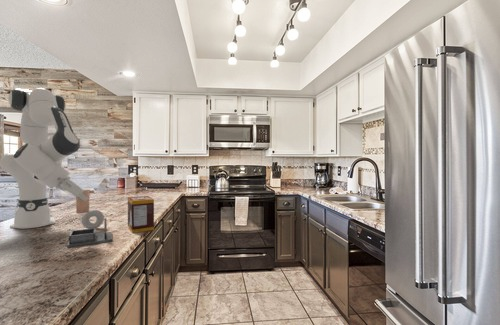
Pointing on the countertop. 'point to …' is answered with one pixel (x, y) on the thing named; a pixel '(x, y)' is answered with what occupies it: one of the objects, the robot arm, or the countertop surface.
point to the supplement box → (140, 213)
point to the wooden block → (82, 203)
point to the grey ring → (90, 225)
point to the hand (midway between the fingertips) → (84, 199)
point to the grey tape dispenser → (89, 236)
